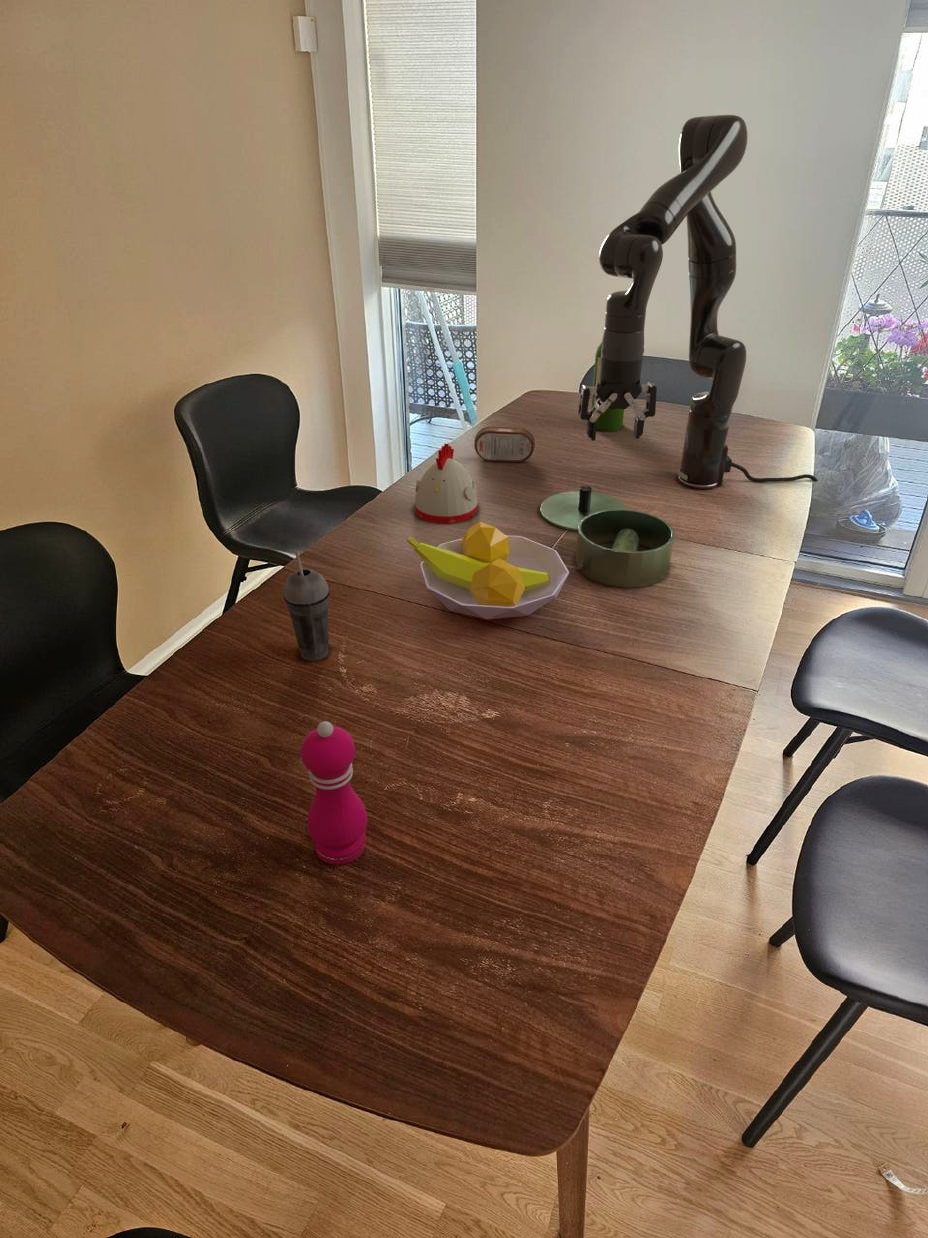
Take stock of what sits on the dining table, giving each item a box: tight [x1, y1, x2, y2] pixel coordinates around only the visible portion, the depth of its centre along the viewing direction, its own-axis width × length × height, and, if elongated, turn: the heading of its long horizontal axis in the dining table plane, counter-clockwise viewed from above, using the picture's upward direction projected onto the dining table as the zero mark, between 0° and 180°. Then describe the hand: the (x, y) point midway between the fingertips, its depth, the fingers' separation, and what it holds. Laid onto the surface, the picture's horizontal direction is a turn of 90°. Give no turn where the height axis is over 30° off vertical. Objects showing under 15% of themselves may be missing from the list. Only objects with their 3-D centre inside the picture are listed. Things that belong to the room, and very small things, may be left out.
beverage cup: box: [283, 549, 331, 662], centre depth 128 cm, size 7×7×20 cm
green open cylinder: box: [575, 508, 675, 589], centre depth 156 cm, size 18×18×8 cm
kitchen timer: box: [414, 443, 479, 525], centre depth 174 cm, size 14×14×15 cm
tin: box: [473, 426, 536, 463], centre depth 199 cm, size 15×3×8 cm, turn 84°
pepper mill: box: [300, 720, 369, 866], centre depth 94 cm, size 7×7×20 cm
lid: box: [539, 485, 628, 532], centre depth 174 cm, size 19×19×6 cm
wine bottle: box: [590, 341, 625, 432], centre depth 212 cm, size 9×9×32 cm
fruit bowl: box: [406, 521, 570, 620], centre depth 146 cm, size 28×27×11 cm
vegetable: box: [610, 529, 640, 552], centre depth 156 cm, size 14×5×5 cm, turn 161°
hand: (614, 438), depth 155 cm, fingers open, 8 cm apart
